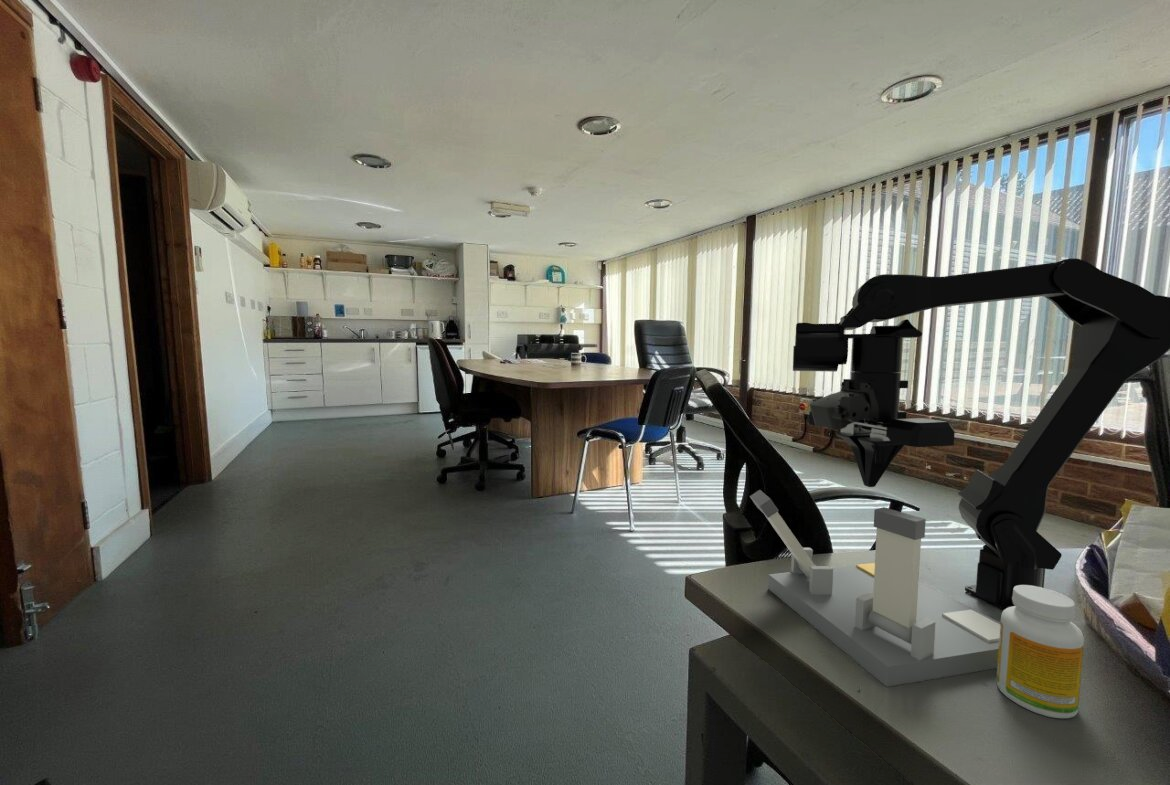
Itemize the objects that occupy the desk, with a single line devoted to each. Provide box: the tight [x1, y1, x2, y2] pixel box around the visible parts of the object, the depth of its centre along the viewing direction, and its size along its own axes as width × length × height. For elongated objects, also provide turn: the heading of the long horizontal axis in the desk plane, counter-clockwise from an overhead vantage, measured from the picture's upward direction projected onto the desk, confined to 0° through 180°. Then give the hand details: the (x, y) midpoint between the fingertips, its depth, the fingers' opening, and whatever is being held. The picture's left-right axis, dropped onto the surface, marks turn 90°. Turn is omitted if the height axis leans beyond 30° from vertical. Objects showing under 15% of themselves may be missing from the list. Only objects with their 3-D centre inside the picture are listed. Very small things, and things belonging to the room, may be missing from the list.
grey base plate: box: [768, 547, 1001, 688], centre depth 56 cm, size 18×19×5 cm
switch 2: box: [868, 507, 927, 644], centre depth 48 cm, size 2×4×12 cm, turn 27°
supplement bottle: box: [996, 585, 1085, 719], centre depth 43 cm, size 5×5×10 cm
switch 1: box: [749, 489, 817, 579], centre depth 60 cm, size 2×4×12 cm
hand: (869, 486), depth 65 cm, fingers closed
